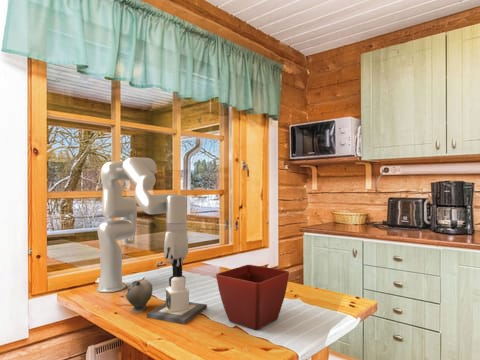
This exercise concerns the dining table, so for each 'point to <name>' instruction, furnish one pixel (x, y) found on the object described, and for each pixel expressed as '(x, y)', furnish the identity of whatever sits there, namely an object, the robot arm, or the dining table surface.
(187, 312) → the charcoal board
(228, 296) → the plant pot
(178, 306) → the medicine bottle
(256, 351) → the dining table surface
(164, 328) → the dining table surface
